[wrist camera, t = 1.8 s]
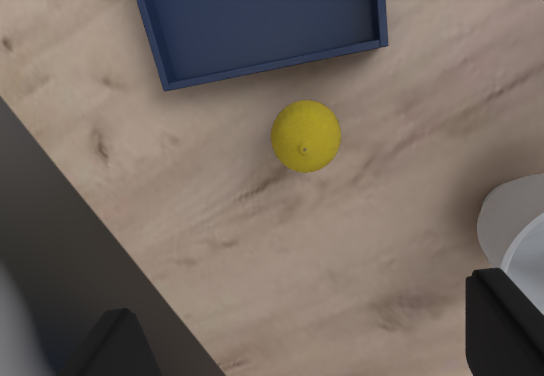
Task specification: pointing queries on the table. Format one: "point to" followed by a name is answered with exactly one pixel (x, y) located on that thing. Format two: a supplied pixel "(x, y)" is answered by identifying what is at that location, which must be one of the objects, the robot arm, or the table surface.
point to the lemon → (306, 136)
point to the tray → (255, 35)
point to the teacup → (516, 233)
